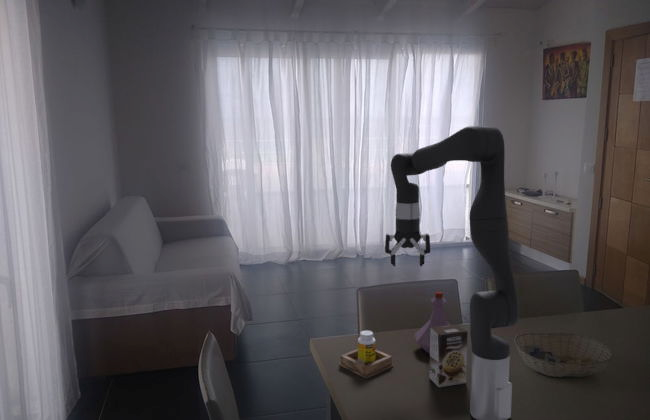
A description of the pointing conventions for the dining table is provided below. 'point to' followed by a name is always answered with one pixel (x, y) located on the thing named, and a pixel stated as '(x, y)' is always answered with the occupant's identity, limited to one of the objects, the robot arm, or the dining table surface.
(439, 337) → the coffee box
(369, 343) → the supplement bottle
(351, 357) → the walnut collar stand
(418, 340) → the flask
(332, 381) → the dining table surface
